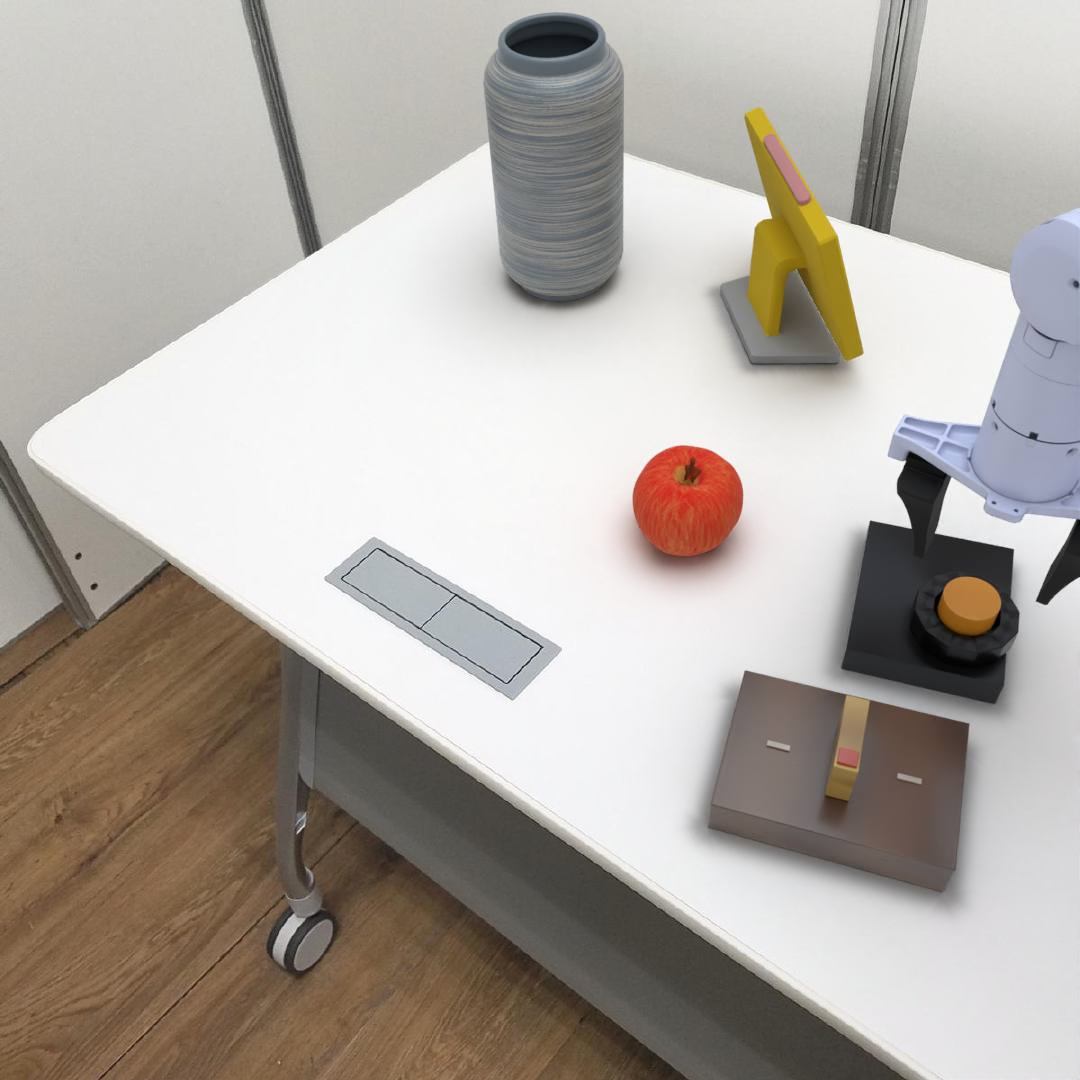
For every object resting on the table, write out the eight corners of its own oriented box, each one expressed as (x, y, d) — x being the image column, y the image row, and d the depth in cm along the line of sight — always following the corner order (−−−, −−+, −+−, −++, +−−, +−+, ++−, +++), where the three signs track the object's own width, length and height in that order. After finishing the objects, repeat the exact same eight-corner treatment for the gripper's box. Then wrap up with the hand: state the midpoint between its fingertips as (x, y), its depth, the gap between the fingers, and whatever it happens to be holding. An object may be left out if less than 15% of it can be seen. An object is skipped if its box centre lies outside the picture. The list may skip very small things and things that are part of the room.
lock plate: (958, 747, 70) (970, 721, 68) (943, 892, 64) (956, 869, 61) (740, 695, 73) (745, 668, 71) (707, 827, 67) (710, 803, 65)
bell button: (996, 599, 73) (1003, 582, 72) (992, 641, 71) (999, 625, 69) (940, 587, 74) (945, 571, 72) (934, 629, 72) (940, 613, 70)
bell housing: (1009, 569, 79) (1025, 532, 76) (999, 705, 72) (1015, 670, 69) (864, 539, 82) (874, 503, 79) (840, 668, 74) (850, 633, 71)
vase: (509, 238, 110) (489, 4, 92) (625, 239, 108) (627, 2, 91) (495, 310, 102) (470, 70, 85) (620, 312, 101) (620, 69, 84)
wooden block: (837, 725, 68) (846, 692, 65) (860, 730, 68) (871, 697, 65) (824, 795, 65) (833, 763, 62) (848, 801, 65) (859, 770, 62)
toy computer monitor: (857, 387, 93) (892, 224, 81) (766, 400, 92) (789, 239, 80) (786, 252, 106) (807, 95, 94) (706, 263, 105) (718, 107, 93)
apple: (700, 480, 86) (707, 405, 80) (759, 548, 82) (770, 473, 76) (612, 517, 84) (612, 443, 78) (666, 589, 80) (670, 515, 73)
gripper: (888, 408, 59) (848, 568, 69) (1176, 503, 53) (1086, 662, 64) (932, 334, 63) (887, 496, 73) (1205, 416, 57) (1116, 579, 67)
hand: (982, 568), depth 69 cm, fingers open, 7 cm apart
